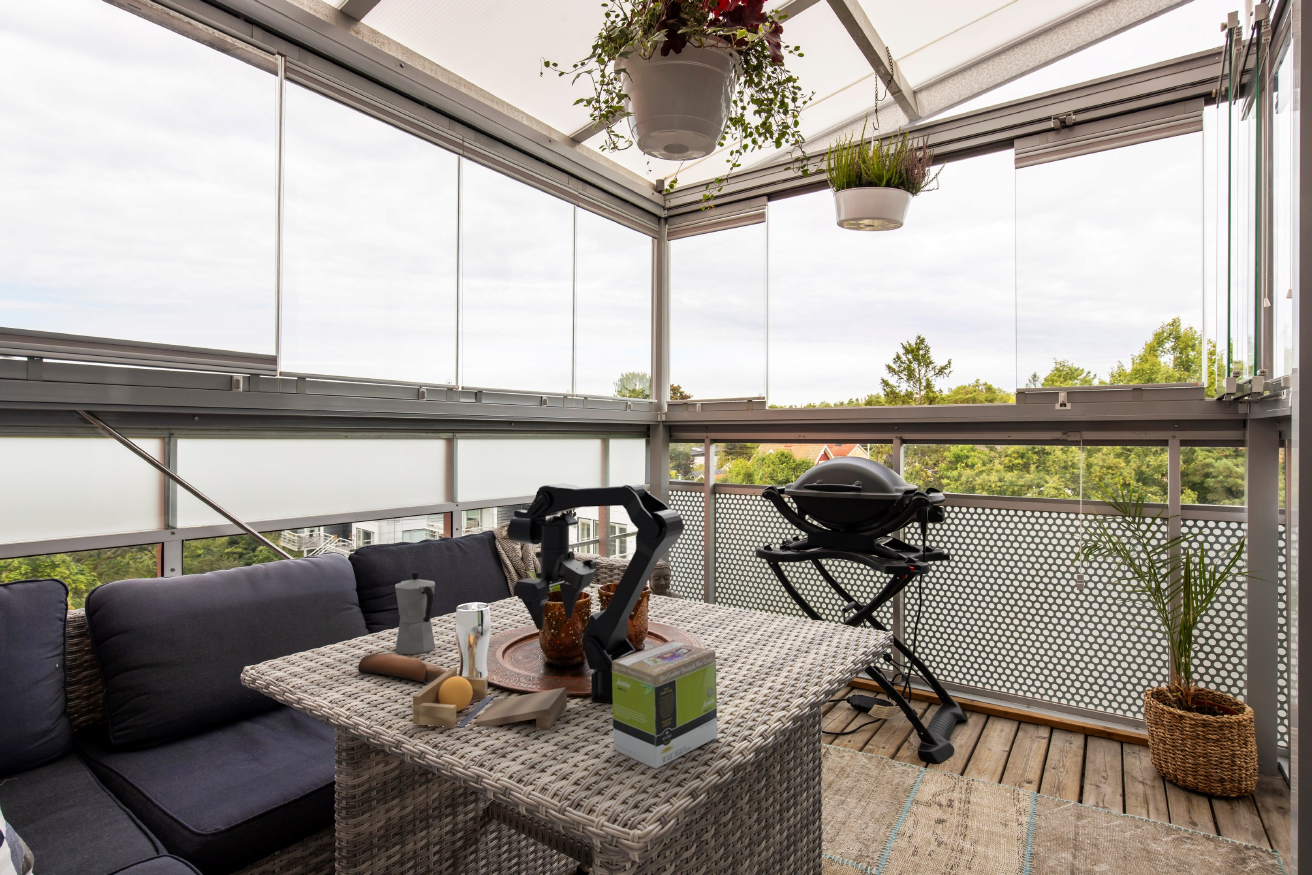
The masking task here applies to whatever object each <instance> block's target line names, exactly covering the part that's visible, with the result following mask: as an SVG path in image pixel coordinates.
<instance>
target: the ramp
mask: <svg viewBox="0 0 1312 875" xmlns="http://www.w3.org/2000/svg"><path fill="white" fill-rule="evenodd" d="M567 707H568V691H567V688H566V686H565V687H559V688H554V689H549V690H544V691H539V692H533V693H528V694H523V695H519V696H518V695H517V696H513V697H506V698H502V699H496V700H495V701H493V702H492V704H490V706H489V707H487V709H485V711H484V712H482V713H481V714H480V715H479V716H478V717H477V718H476V719H475V720H474V721H473V725H478V726H479V725H480V726H489V727H490V726H491V727H492V726H493V727H496V726H500V725H501V726H502V725H506V724H512V723H518V722H523V721H527V720H533V719H535V721H536V722H535V723H536V724H535V729H536V730H545V731H547V730H548V731H550V730H551V729H552V727H554V724H555V723H556V722H557V720H559V718H560V717H561V715H562V714H563V713H564V711H565V710H566V708H567Z"/></svg>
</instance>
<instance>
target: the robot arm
mask: <svg viewBox="0 0 1312 875" xmlns="http://www.w3.org/2000/svg"><path fill="white" fill-rule="evenodd" d="M613 506H614V507H615V506H617V507H618V506H619V507H620V506H621V507H623V508H624V510H625V511H626V513H627V515H628V517H629V518H628V519H630V522H631V523H632V524H633V525H634V527H636V529H637V531H636V535H635V551H634V553H633V555H632V557H631V559H630V560H629V563H628V565H627V566H626V569H625V571H624V572H623V575H622V577H621V578H620V580H619V581H618V583H617V584H618V585H617V586H616V588H615V590H614V591H613V594H612V596H611V598H610V600H609V602H608V604H607V606H606V608H605V609H604V610H601V611H598V612H595V613H593V614H591V615H589V618H588V619H587V622H586V625H585V627H584V628H583V629H582V630H581V631H580V632H581V634H583V635H582V637H581V641H580V642H581V645H582V649H583V651H584V654H585V657H586V662H587V664H588V669H589V670H593V671H592V672H591V674H590V676H591V678H590V679H591V682H590V685H591V686H590V688H591V690H590V692H591V695H592V697H591V702H594V703H595V702H596V703H597V702H598V703H610V704H613V688H612V661H614V660H618V659H620V658H623V657H626V656H629V655H632V654H634V653H637V651H636V649H635V648H634V645H632V643H631V642H630V641H629V639H628V637H627V635H628V631H629V618H630V615H632V614H631V613H632V612H633V609H634V608H635V606H636V604H637V602H638V601H639V599H640V597H641V594H642V592H643V591H644V589H645V587H646V585H647V582H649V579H650V578H651V576H652V573H653V572H654V569H656V565H657V564H658V562H659V561H660V560H659V559H661V558H662V556H664V554H666V553H667V552H668V551H669V550H670V549H671V548H672V547H673V546H674V545H675V543H677V541H678V540H679V538H680V537H681V536H682V534H683V532H684V529H685V524H684V521H683V518H682V516H681V514H679V513H678V512H677V511H676V510H674V509H671V508H670V507H669V506H668V505H667V504H666V503H665V502H664V501H662V500H661V499H659V498H658V497H656V496H654V495H653V494H651V493H650V492H649V490H647V489H646V488H645V487H644V486H643V485H642V484H639V483H630V484H625V485H617V486H616V485H615V486H613V485H612V486H597V487H580V486H578V485H575V484H569V483H557V484H547V485H546V484H545V485H542V486H540V487H539V488H538V490H537V492H536V495H535V498H534V499H533V501H532V502H531V504H530V505H529V507H528V509H527V510H525V509H518V510H514V511H513V515H514V516H513V517H512V518H510V521H509V523H508V526H507V527H506V532H507V533H506V534H507V537H508V540H510V541H511V542H513V543H520V544H527V545H535V546H536V545H539V544H540V548H539V549H540V551H536V552H535V557H536V558H539V559H540V560H539V562H540V564H539V565H540V567H539V569H540V571H537V572H535V578H532V577H527V578H522V579H519V580H516V581H515V583H514V584H513V585H512V586H513V587H512V588H513V590H512V593H513V594H512V595H513V596H514V597H517V599H519V600H521V601H522V603H523V605H524V606H525V607H526V609H527V611H528V613H529V615H530V618H531V619H532V621H533V624H534V626H535V628H536V629H537V630H539V631H542V630H543V628H544V622H545V621H544V620H545V606H546V605H545V604H546V603H547V602H548V601H549V599H550V597H551V596H548V594H549V593H550V589H551V588H553V587H554V588H555V587H556V586H559V589H560V593H561V600H562V607H563V611H564V615H565V618H566V619H568V620H571V619H572V617H573V614H574V611H575V608H576V606H577V602H578V599H579V597H580V594H581V592H582V591H583V590H584V589H585V588H587V587H589V586H591V583H592V582H593V581H594V580H593V579H594V578H595V577H597V576H598V573H597V571H598V567H597V561H596V560H595V559H593V558H588V559H585V560H584V561H582V560H580V561H578V560H576V559H575V558H576V557H575V556H576V555H575V552H574V550H570V527H572V526H575V525H576V526H577V525H579V521H578V520H577V519H576V518H575V517H574V516H573V515H572V513H571V512H569V511H572V510H576V509H579V508H589V507H591V508H593V507H613ZM564 512H567V513H564ZM560 513H562V515H558V514H560ZM547 517H548V518H547Z"/></svg>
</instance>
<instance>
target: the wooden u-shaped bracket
mask: <svg viewBox="0 0 1312 875" xmlns="http://www.w3.org/2000/svg"><path fill="white" fill-rule="evenodd" d="M455 676H458V668H457V667H450V668H449V669H447V670H446V672H445V673H444V674H442V675H441V676H440V677H438V678H437V679H435V680H434V681H432V682H430V683H428V684H426V686H425V687H423V688H422V689H421V690H419V691H418V692H417V693H415V694H414V695H413V696H412V725H413V724H420V725H431V726H430V727H432V725H433V726H444V727H443V728H445V727H454V726H455V725H457V727H456V726H455V727H456V728H463V727H465V726H466V724H467V723H469V721H471V719H473V717H475V716H476V715H477V714H478V713H479V712H480V711H481V710H482V709H483V708H484V707H485V706H486V705H487V704H488V703H489V702H490V701H491V700H492V699H493V698H494V697H493V696H491V697H490V696H488V680H487V678H479V677H464V676H459V677H463V678H465V679H466V680H468V681H469V683H470V684H471V686H472V691H473V694H472V698H471V699H483V700H482V701H481V702H479V704H478V705H477V706H475V708H473V709H472V710H471V712H469V713H468V714H467V715H466V716H465V717H464V718H463V719H462V720H460V722H459V723H460V724H459V723H457V711H456V705H448V704H440V702H439V698H438V693H439V689H440V687H441V685H442V684H443V683H444V682H445V681H446V680H447V679H449V678H451V677H455ZM458 725H459V726H458ZM455 727H454V728H455Z"/></svg>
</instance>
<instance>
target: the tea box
mask: <svg viewBox="0 0 1312 875" xmlns="http://www.w3.org/2000/svg"><path fill="white" fill-rule="evenodd" d="M716 655H717V654H716V651H715V650H714V651H713V650H710V649H707V648H702V647H699V646H696V645H695V646H694V645H691V644H687V643H684V642H679V641H675V639H673V640H670V641H666V642H664V643H661V644H660V643H659V644H658V645H655V646H652V647H649V648H647V649H643V650H640V651H636V653H634V654H632V655H629V656H626V657H623V658H620V659H618V660H614V661H612V688H613V703H612V736H613V739H612V744H613V749H614V750H615V752H617V753H620V754H623V755H625V756H627V757H629V758H631V759H632V760H635V761H637V762H639V763H642V764H643V765H646V766H649V767H650V768H653V769H655V770H657V769H659V768H661V767H663V766H664V765H667V764H668V763H670V762H672V761H674V760H676V759H678V758H680V757H682V756H683V755H685V754H687V753H689V752H691V751H693V750H695V749H698V748H699V747H701V746H703V745H704V744H706V743H709V742H711V741H713V740H715V739H717V738H718V715H717V714H718V706H717V704H718V702H717V700H718V697H717V696H718V694H717V693H718V692H717V662H716V661H717V659H716V658H717V657H716Z"/></svg>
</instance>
